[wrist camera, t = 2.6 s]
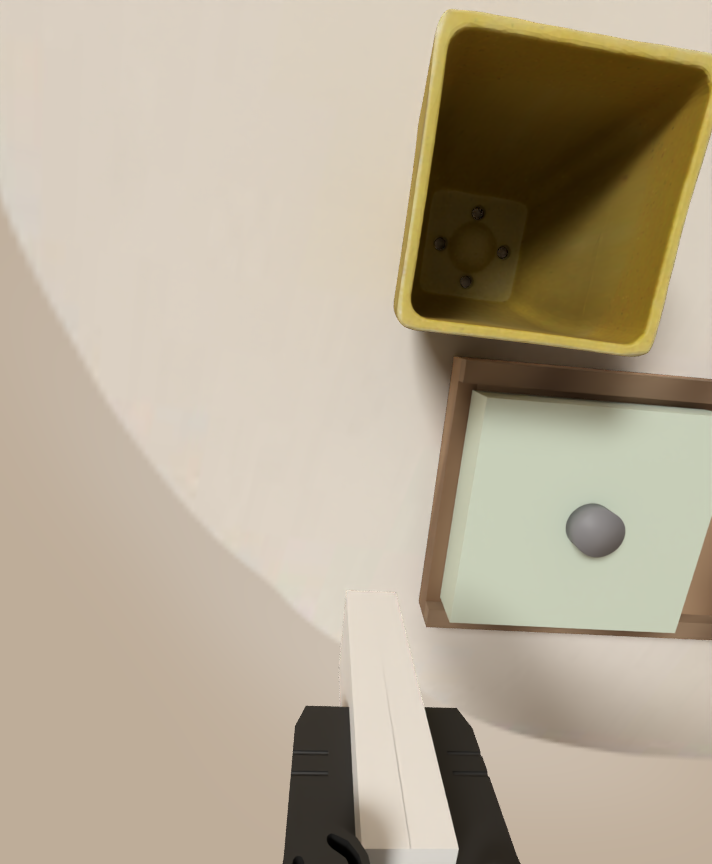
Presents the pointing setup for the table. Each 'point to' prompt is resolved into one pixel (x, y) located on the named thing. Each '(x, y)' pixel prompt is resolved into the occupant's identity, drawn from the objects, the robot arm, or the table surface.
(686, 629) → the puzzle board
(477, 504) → the cover
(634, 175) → the flower pot
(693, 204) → the table surface
